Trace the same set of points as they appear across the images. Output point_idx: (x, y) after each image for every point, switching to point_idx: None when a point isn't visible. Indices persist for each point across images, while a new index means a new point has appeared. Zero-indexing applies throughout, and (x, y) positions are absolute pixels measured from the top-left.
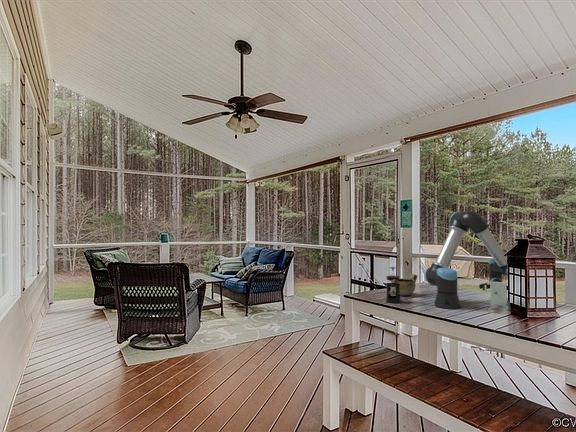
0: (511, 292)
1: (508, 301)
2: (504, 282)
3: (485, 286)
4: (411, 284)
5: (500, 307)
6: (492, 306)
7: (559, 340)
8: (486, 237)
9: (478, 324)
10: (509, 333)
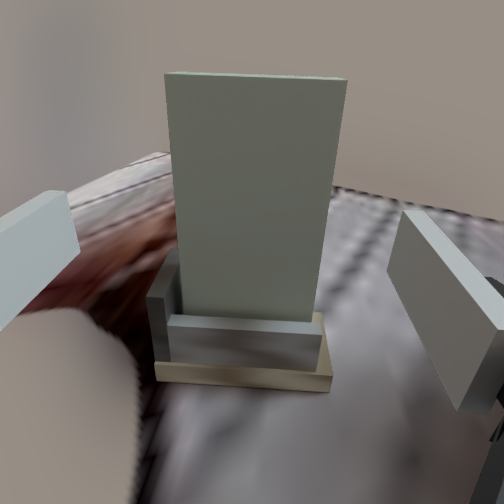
0: (77, 245)
1: (162, 282)
2: (184, 73)
3: (425, 221)
4: None
5: None
6: None
7: (156, 163)
8: None
9: (335, 195)
10: None
